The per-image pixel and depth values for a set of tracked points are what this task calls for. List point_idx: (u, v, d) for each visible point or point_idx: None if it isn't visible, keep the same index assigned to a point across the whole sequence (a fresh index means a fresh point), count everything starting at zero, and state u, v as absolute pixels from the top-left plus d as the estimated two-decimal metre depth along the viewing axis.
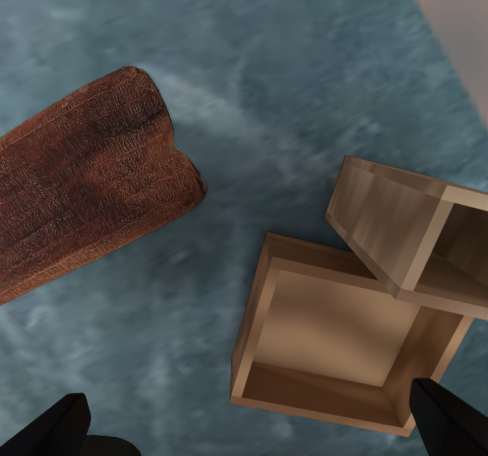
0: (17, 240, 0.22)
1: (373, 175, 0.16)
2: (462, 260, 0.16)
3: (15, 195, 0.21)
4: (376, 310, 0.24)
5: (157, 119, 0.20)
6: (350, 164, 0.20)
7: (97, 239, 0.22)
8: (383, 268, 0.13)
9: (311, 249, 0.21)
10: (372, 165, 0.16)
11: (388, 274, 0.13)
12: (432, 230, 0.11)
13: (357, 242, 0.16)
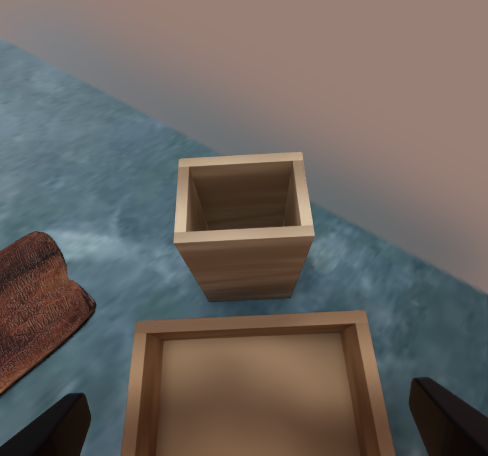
0: None
1: None
2: None
3: None
4: (299, 387, 0.20)
5: (50, 258, 0.25)
6: None
7: None
8: None
9: None
10: None
11: None
12: (181, 186, 0.15)
13: None
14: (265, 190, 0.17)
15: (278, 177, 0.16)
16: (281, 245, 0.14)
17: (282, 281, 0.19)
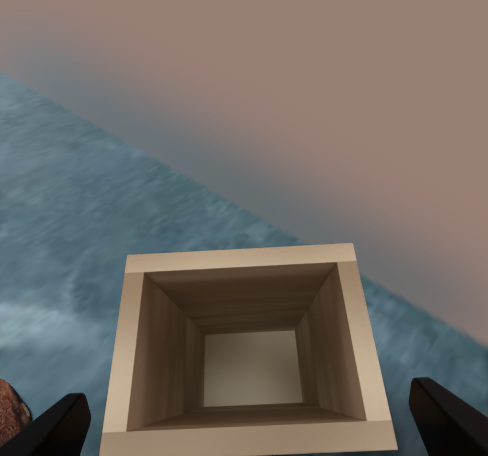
0: None
1: None
2: (323, 394, 0.11)
3: None
4: None
5: None
6: None
7: None
8: None
9: None
10: None
11: None
12: (127, 315, 0.08)
13: None
14: (282, 291, 0.10)
15: (306, 279, 0.09)
16: None
17: None
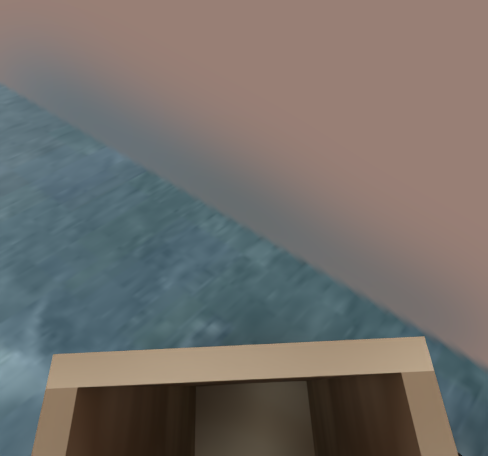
0: None
1: None
2: None
3: None
4: None
5: None
6: None
7: None
8: None
9: None
10: None
11: None
12: None
13: None
14: None
15: (341, 376, 0.06)
16: None
17: None
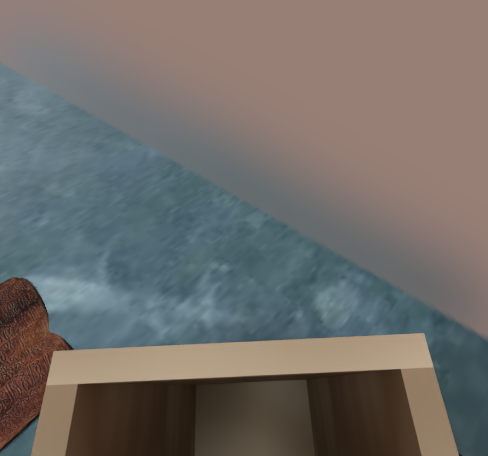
0: None
1: None
2: None
3: None
4: None
5: (30, 309, 0.22)
6: None
7: None
8: None
9: None
10: None
11: None
12: None
13: None
14: (300, 376, 0.07)
15: (341, 373, 0.06)
16: None
17: None
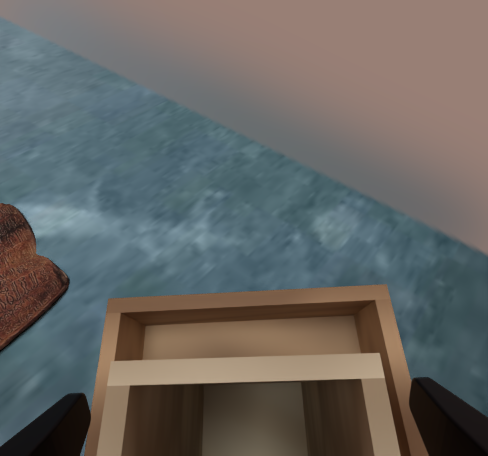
0: None
1: None
2: None
3: None
4: None
5: (16, 231, 0.21)
6: None
7: None
8: None
9: None
10: None
11: None
12: (107, 446, 0.06)
13: None
14: (292, 381, 0.09)
15: None
16: None
17: None
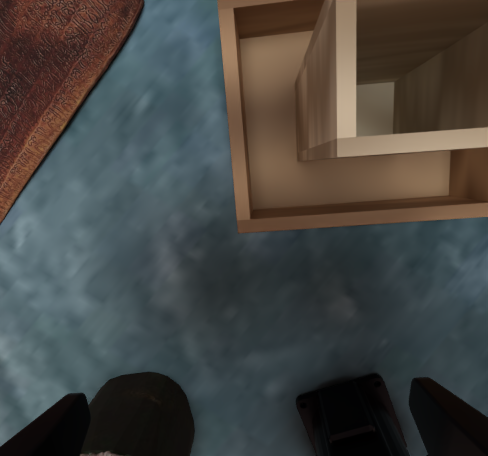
0: None
1: (306, 66, 0.13)
2: (454, 125, 0.12)
3: None
4: None
5: None
6: (297, 85, 0.17)
7: (51, 98, 0.19)
8: (326, 140, 0.10)
9: None
10: (304, 58, 0.14)
11: (329, 139, 0.09)
12: (344, 40, 0.08)
13: (311, 146, 0.13)
14: (456, 20, 0.10)
15: None
16: None
17: None
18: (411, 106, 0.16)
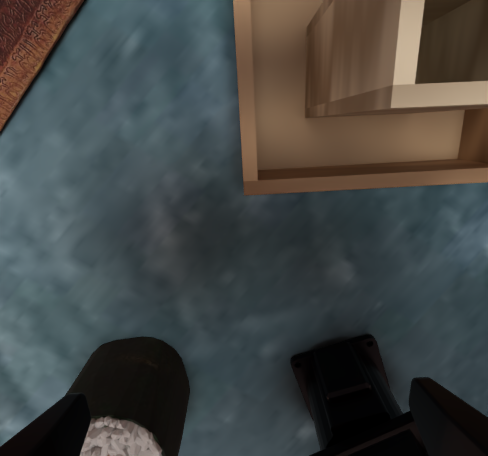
0: None
1: (333, 3, 0.12)
2: None
3: None
4: None
5: None
6: (312, 29, 0.15)
7: (21, 31, 0.16)
8: (367, 89, 0.09)
9: None
10: None
11: (374, 88, 0.08)
12: None
13: (336, 99, 0.12)
14: None
15: None
16: None
17: None
18: (436, 58, 0.14)
